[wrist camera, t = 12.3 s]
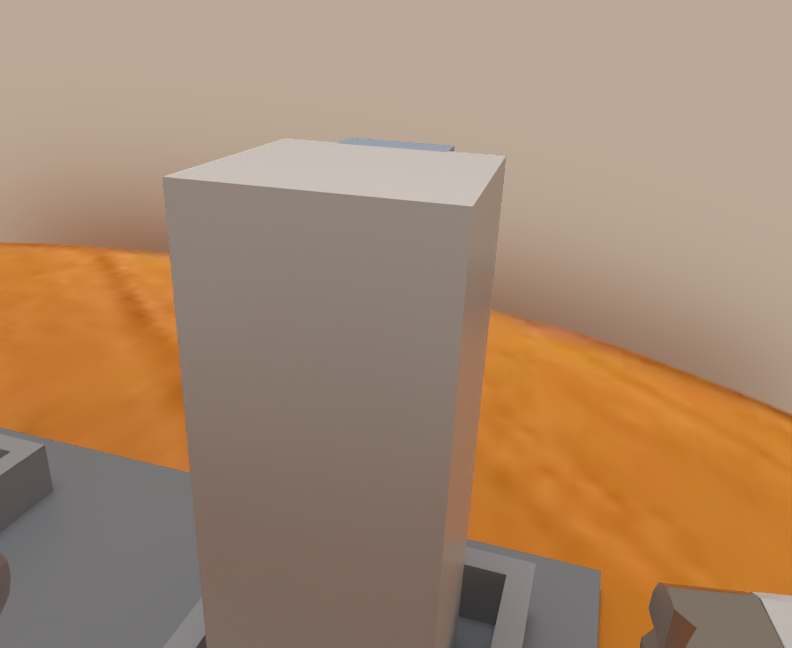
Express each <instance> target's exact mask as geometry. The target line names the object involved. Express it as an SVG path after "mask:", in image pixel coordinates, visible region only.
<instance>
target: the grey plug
mask: <svg viewBox="0 0 792 648" xmlns="http://www.w3.org/2000/svg"><path fill="white" fill-rule="evenodd" d="M505 162H506V156H501V155H488V154H476V153H463V152H454V146H450V145H436V144H424V143H411V142H398V141H385V140H372V139H359V138H347V139H345V140H342V141H340V142H337V143H336V142H324V141H312V140H299V139H287V138H284V139H281V140H278V141H275V142H271V143H268V144H265V145H262V146H259V147H256V148H253V149H249V150H246V151H243V152H240V153H236V154H233V155H230V156H227V157H224V158H221V159H217V160H214V161H211V162H208V163H205V164H202V165H198V166H195V167H192V168H189V169H186V170H182V171H179V172H176V173H173V174H170V175H167V176H163V187H164V197H165V208H166V218H167V228H168V240H169V251H170V261H171V272H172V283H173V293H174V304H175V315H176V325H177V336H178V347H179V357H180V368H181V379H182V389H183V400H184V411H185V421H186V432H187V443H188V453H189V464H190V475H191V485H192V496H193V507H194V517H195V528H196V539H197V549H198V560H199V571H200V581H201V592H202V603H203V613H204V624H205V635H206V645H207V648H454V647H455V642H456V637H457V628H458V619H459V609H460V599H461V589H462V580H463V570H464V560H465V551H466V541H467V531H468V521H469V512H470V502H471V492H472V482H473V473H474V463H475V453H476V444H477V434H478V424H479V414H480V405H481V395H482V385H483V376H484V366H485V356H486V346H487V337H488V327H489V317H490V308H491V297H492V288H493V278H494V269H495V268H494V267H495V258H496V249H497V238H498V230H499V219H500V210H501V201H502V190H503V181H504V172H505Z"/></svg>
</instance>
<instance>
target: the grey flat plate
mask: <svg viewBox="0 0 792 648" xmlns="http://www.w3.org/2000/svg"><path fill="white" fill-rule="evenodd" d="M0 531H1V533H0V553H1V554H2V555H3V556H4V557H5V558H6V559H7V560H8V565H9V569H10V574H11V581H10V593H9V596H8V599H7V601H6V603H5V606H4V608H3V610H2V613H1V615H0V648H207V645H206V635H205V624H204V613H203V603H202V592H201V581H200V571H199V560H198V549H197V539H196V528H195V517H194V507H193V496H192V485H191V475H190V473H188V472H184V471H180V470H176V469H171V468H167V467H163V466H159V465H155V464H151V463H146V462H142V461H138V460H134V459H130V458H125V457H121V456H117V455H113V454H109V453H104V452H100V451H96V450H92V449H88V448H83V447H79V446H75V445H71V444H67V443H63V442H58V441H54V440H50V439H46V438H42V437H37V436H33V435H29V434H25V433H21V432H16V431H12V430H8V429H4V428H0ZM600 576H601V571H599V570H595V569H591V568H586V567H582V566H578V565H574V564H570V563H565V562H561V561H557V560H553V559H549V558H544V557H540V556H536V555H532V554H528V553H523V552H519V551H515V550H511V549H507V548H503V547H498V546H494V545H490V544H486V543H482V542H477V541H473V540H469V539H467V541H466V551H465V560H464V570H463V580H462V589H461V599H460V609H459V619H458V628H457V637H456V642H455V647H454V648H598V624H599V600H600Z"/></svg>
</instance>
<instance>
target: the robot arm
mask: <svg viewBox="0 0 792 648" xmlns="http://www.w3.org/2000/svg"><path fill="white" fill-rule="evenodd" d="M0 533H1V531H0ZM10 581H11V574H10V569H9V565H8V560H7V559H6V558H5V557H4V556H3V555H2V554H1V553H0V615H1V613H2V610H3V608H4V606H5V603H6V601H7V599H8V596H9V593H10ZM649 611H650V615H651V618H652V622H653V625H654V629H652V630H651V631H650V632H648V633H647V634H646V635H644V636H643V637H642V638H641V643H640V648H792V596H791V595H781V594H771V593H760V592H750V593H748V592H743V591H734V590H724V589H715V588H706V587H696V586H687V585H677V584H668V583H658V584H657V586H656V588H655V589H654V591H653V594H652V598H651V602H650V605H649Z"/></svg>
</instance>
